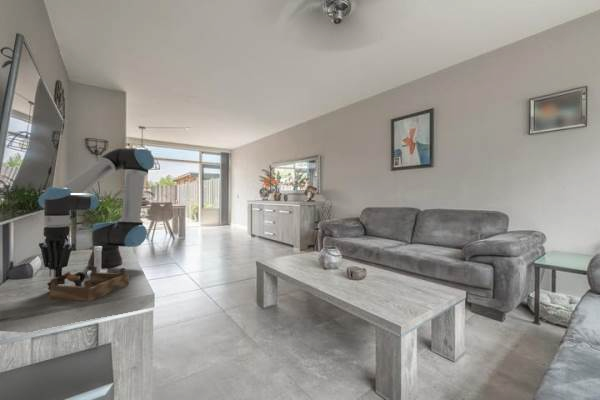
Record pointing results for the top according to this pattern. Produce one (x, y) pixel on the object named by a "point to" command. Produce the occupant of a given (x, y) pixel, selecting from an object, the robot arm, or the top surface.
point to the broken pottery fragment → (70, 279)
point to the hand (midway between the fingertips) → (55, 284)
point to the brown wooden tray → (88, 293)
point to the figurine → (97, 261)
